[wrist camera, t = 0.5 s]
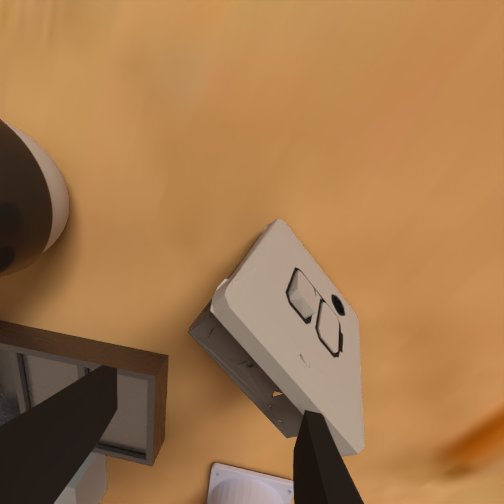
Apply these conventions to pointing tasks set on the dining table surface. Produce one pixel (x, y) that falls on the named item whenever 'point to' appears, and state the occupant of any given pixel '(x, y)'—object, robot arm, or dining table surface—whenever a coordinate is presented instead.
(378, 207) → the dining table surface
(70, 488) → the grey rectangular block
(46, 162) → the dark egg shaped ornament
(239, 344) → the electrical switch
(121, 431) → the rack
